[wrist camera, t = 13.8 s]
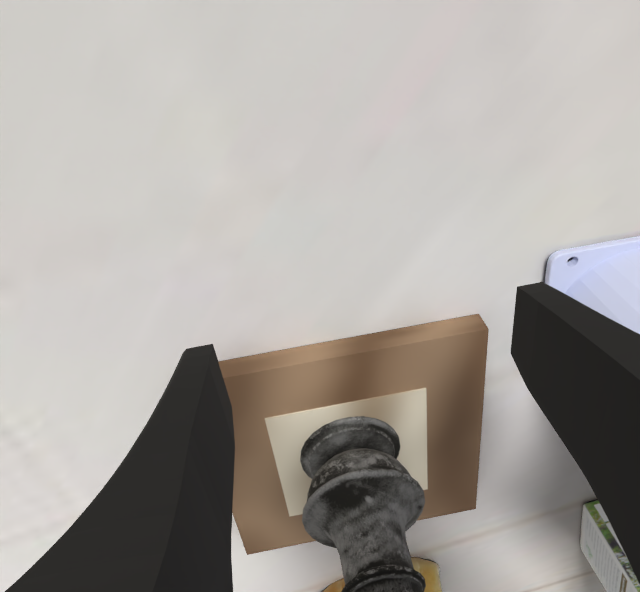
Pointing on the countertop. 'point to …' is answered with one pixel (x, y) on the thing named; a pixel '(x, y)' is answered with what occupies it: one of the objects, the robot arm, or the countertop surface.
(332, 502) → the salt shaker
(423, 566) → the pastry
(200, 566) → the robot arm
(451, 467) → the walnut board
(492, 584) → the countertop surface
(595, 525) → the syrup box
